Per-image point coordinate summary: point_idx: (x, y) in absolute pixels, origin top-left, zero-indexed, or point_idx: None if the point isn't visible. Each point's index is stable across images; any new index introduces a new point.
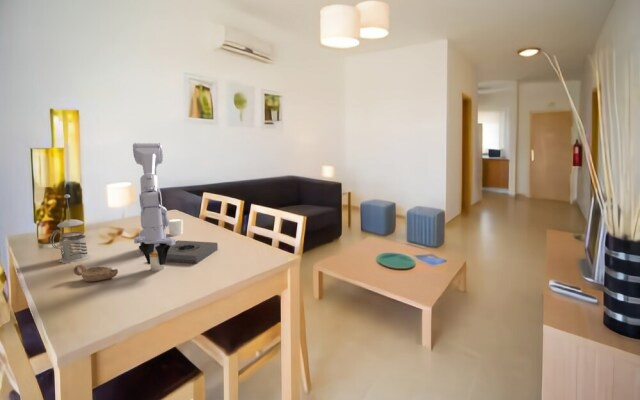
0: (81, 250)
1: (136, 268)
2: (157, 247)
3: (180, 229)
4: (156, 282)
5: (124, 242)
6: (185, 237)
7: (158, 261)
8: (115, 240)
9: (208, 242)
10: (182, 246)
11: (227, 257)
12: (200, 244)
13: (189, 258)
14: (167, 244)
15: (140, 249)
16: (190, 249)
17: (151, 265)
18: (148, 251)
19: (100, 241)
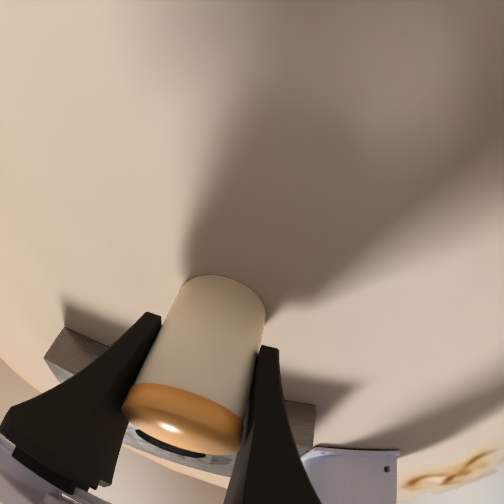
0: None
1: (385, 336)
2: (27, 451)
3: None
4: (75, 59)
5: (444, 465)
6: None
7: (155, 342)
8: (462, 465)
9: (127, 444)
10: (201, 456)
11: (29, 346)
12: (139, 444)
13: (82, 361)
14: (12, 447)
15: (312, 499)
16: (134, 427)
17: (229, 320)
18: (242, 463)
19: (492, 455)
